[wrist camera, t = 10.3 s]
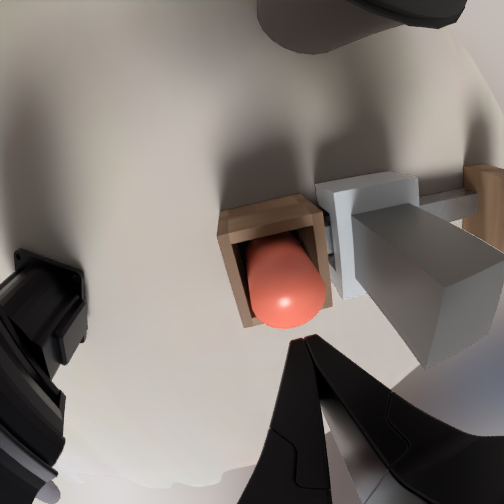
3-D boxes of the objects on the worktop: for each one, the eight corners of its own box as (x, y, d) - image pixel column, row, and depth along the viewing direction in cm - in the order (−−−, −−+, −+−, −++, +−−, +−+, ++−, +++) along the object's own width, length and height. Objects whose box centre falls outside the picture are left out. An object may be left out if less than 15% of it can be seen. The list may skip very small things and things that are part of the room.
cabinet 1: (462, 228, 17) (510, 257, 12) (463, 166, 15) (519, 183, 10) (483, 222, 17) (528, 247, 12) (484, 163, 15) (536, 180, 10)
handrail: (307, 246, 16) (314, 257, 15) (303, 221, 16) (310, 230, 14) (463, 208, 16) (477, 214, 15) (464, 188, 16) (477, 193, 14)
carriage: (326, 275, 17) (401, 397, 8) (314, 182, 15) (429, 253, 6) (393, 257, 17) (489, 348, 8) (389, 169, 15) (523, 218, 6)
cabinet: (240, 288, 17) (243, 328, 14) (219, 211, 15) (216, 236, 12) (312, 271, 17) (332, 306, 14) (300, 193, 15) (322, 211, 12)
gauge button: (252, 287, 15) (259, 335, 11) (239, 237, 14) (243, 274, 10) (305, 275, 15) (328, 318, 11) (297, 223, 14) (322, 256, 10)
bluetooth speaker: (4, 437, 30) (-8, 467, 20) (34, 453, 31) (23, 486, 22) (38, 472, 38) (31, 496, 29) (65, 484, 39) (59, 510, 30)
